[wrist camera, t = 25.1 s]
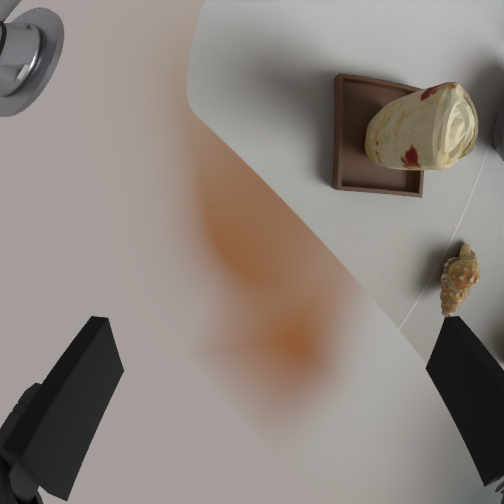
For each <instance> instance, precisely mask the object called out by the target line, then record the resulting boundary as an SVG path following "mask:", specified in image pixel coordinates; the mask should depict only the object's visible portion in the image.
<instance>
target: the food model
mask: <svg viewBox="0 0 504 504" xmlns="http://www.w3.org/2000/svg"><path fill="white" fill-rule="evenodd" d="M477 136H478V118H477V113H476V109H475V107H474V104H473V102H472V100H471V99H470V97H469V96H468V94H467V93H466V92H465V90H464V89H463V88H462V87H461V86H460V85H459V84H458V83H456V82H448V83H444V84H441V85H438V86H434V87H431V88H427V89H423V90H420V91H417V92H414V93H411V94H409V95H406V96H404V97H402V98H399V99H396V100H394V101H392V102H390V103H389V104H387V105H386V106H384V107H383V108H382V109H381V110H380V111H379V112H378V113H377V114H376V115H375V116H374V117H373V119H372V120H371V121H370V123H369V125H368V127H367V130H366V132H365V135H364V138H363V141H364V150H365V153H366V155H367V156H368V157H369V158H370V159H371V160H372V161H373V162H374V163H376V164H377V165H380V166H383V167H386V168H391V169H400V170H442V169H447V168H449V167H450V166H452V165H453V164H455V162H456V161H457V160H459V159H462V158H464V157H465V156H466V155H468V154H469V153H470V152H471V151H472V150H473V148H474V145H475V142H476V139H477Z"/></svg>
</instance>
